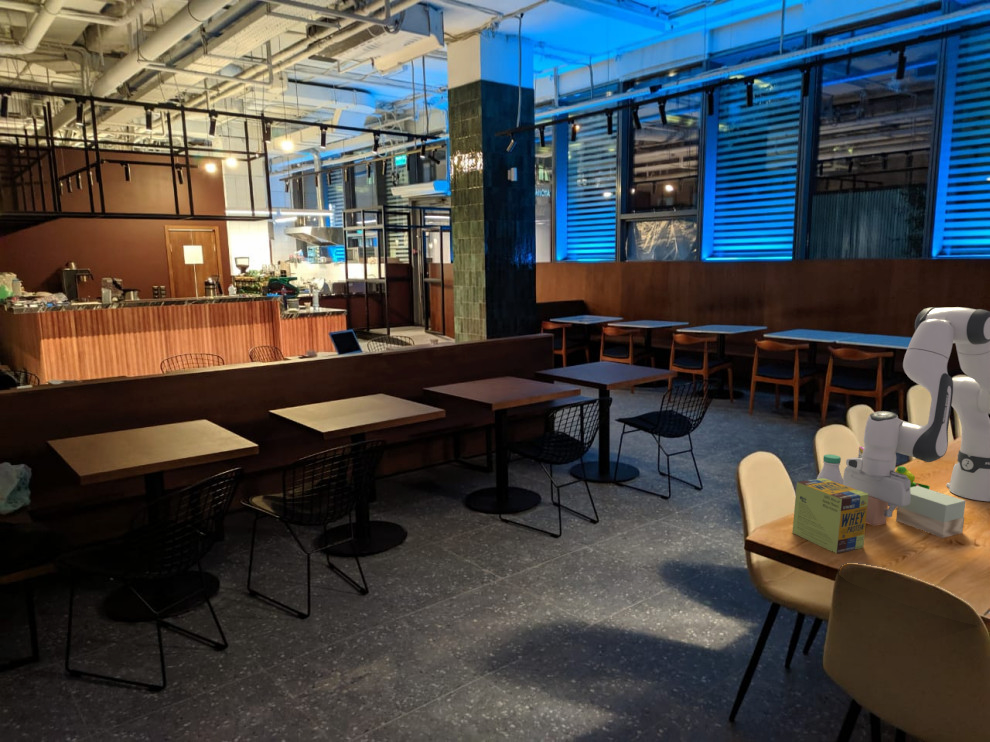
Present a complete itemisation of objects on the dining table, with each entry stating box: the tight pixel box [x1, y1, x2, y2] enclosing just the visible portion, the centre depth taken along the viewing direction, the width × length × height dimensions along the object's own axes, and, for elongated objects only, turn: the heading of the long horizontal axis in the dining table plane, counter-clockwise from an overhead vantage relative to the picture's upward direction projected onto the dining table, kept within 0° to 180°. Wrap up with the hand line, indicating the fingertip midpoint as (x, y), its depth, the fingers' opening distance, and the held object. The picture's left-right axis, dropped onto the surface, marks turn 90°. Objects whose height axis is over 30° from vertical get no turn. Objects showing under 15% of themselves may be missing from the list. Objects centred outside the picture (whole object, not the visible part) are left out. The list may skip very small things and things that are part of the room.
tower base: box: [895, 506, 965, 539], centre depth 203 cm, size 9×14×5 cm, turn 24°
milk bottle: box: [816, 453, 844, 485], centre depth 206 cm, size 8×8×20 cm
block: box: [866, 496, 889, 527], centre depth 206 cm, size 5×5×8 cm
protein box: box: [791, 478, 869, 554], centre depth 192 cm, size 10×15×16 cm
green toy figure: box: [895, 465, 930, 490], centre depth 223 cm, size 11×9×11 cm
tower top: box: [901, 486, 966, 522], centre depth 202 cm, size 9×14×5 cm, turn 26°
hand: (873, 510), depth 206 cm, fingers open, 8 cm apart
